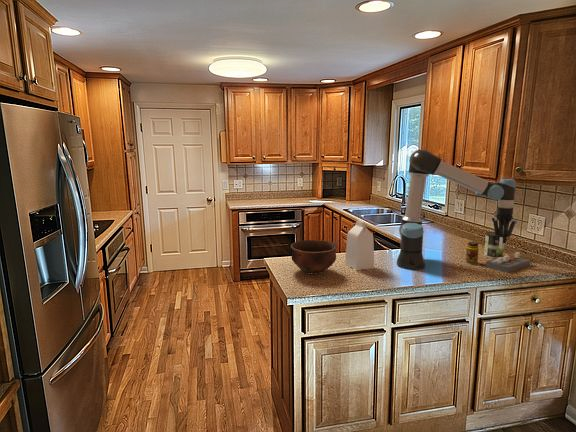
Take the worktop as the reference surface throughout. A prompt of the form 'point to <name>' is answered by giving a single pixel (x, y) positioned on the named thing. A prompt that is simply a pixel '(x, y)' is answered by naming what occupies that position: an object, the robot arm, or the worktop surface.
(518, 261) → the switch panel
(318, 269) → the bowl
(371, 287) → the worktop surface
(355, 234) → the milk
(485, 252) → the coffee can
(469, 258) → the condiment
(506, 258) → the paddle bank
